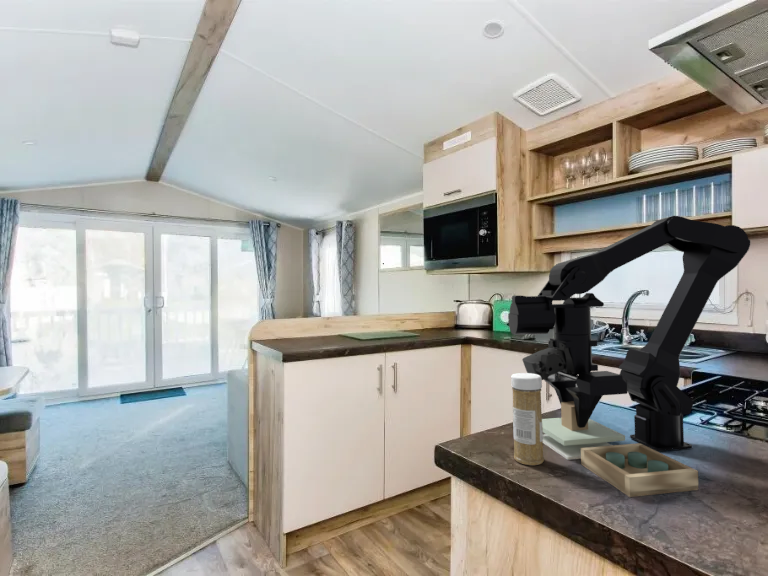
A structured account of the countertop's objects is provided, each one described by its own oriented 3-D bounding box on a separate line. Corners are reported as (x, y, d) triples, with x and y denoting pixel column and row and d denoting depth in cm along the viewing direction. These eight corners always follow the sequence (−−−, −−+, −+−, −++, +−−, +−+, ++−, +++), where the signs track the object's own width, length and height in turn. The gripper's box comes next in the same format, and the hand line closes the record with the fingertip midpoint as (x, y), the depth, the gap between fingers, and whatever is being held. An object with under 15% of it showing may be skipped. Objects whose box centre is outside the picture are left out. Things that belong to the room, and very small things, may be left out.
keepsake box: (640, 459, 63) (639, 443, 63) (698, 489, 53) (697, 470, 53) (581, 464, 62) (580, 448, 62) (629, 497, 52) (629, 477, 52)
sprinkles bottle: (550, 461, 63) (547, 375, 63) (531, 469, 61) (529, 379, 61) (525, 452, 67) (523, 370, 67) (507, 459, 65) (504, 374, 65)
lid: (583, 420, 76) (583, 394, 76) (625, 440, 65) (624, 410, 65) (530, 424, 74) (529, 398, 74) (564, 445, 64) (563, 415, 64)
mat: (585, 433, 75) (585, 431, 75) (625, 454, 65) (625, 452, 65) (535, 437, 74) (535, 435, 74) (567, 459, 64) (567, 457, 64)
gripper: (504, 330, 78) (507, 411, 78) (559, 341, 60) (563, 448, 60) (558, 328, 80) (560, 407, 80) (628, 338, 61) (631, 442, 61)
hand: (575, 424), depth 70 cm, fingers closed on lid, 3 cm apart
